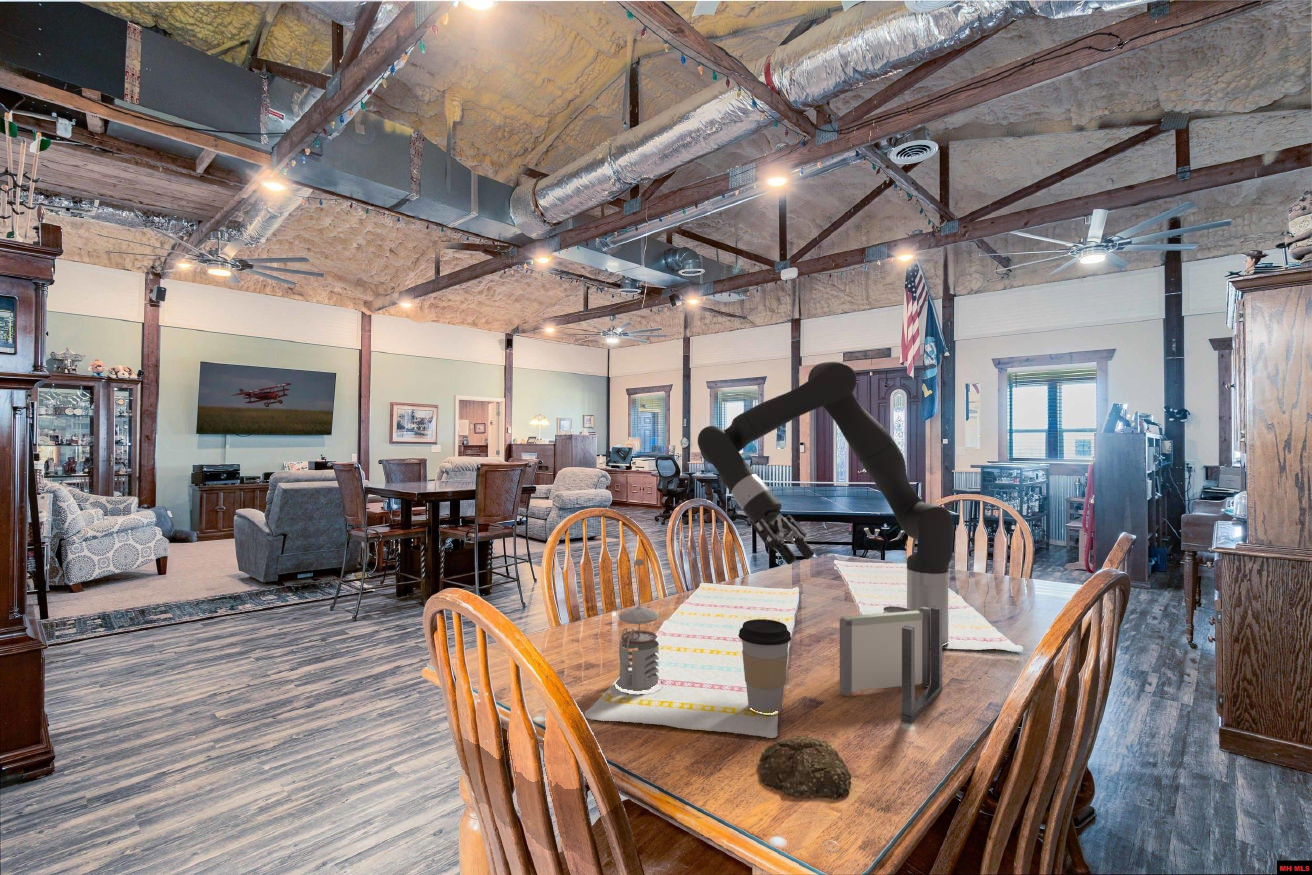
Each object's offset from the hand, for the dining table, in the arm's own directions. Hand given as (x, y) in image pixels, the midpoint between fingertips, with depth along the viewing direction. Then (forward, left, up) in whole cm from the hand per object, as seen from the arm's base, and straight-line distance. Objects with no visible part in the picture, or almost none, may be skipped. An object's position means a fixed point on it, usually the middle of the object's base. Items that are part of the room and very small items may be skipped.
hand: (802, 559), depth 126 cm
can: (-17, +14, -24) cm, 32 cm away
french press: (+28, -21, -24) cm, 42 cm away
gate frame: (0, +24, -24) cm, 34 cm away
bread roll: (+35, +18, -24) cm, 46 cm away
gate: (-2, +17, -23) cm, 29 cm away
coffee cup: (+20, +3, -24) cm, 31 cm away
